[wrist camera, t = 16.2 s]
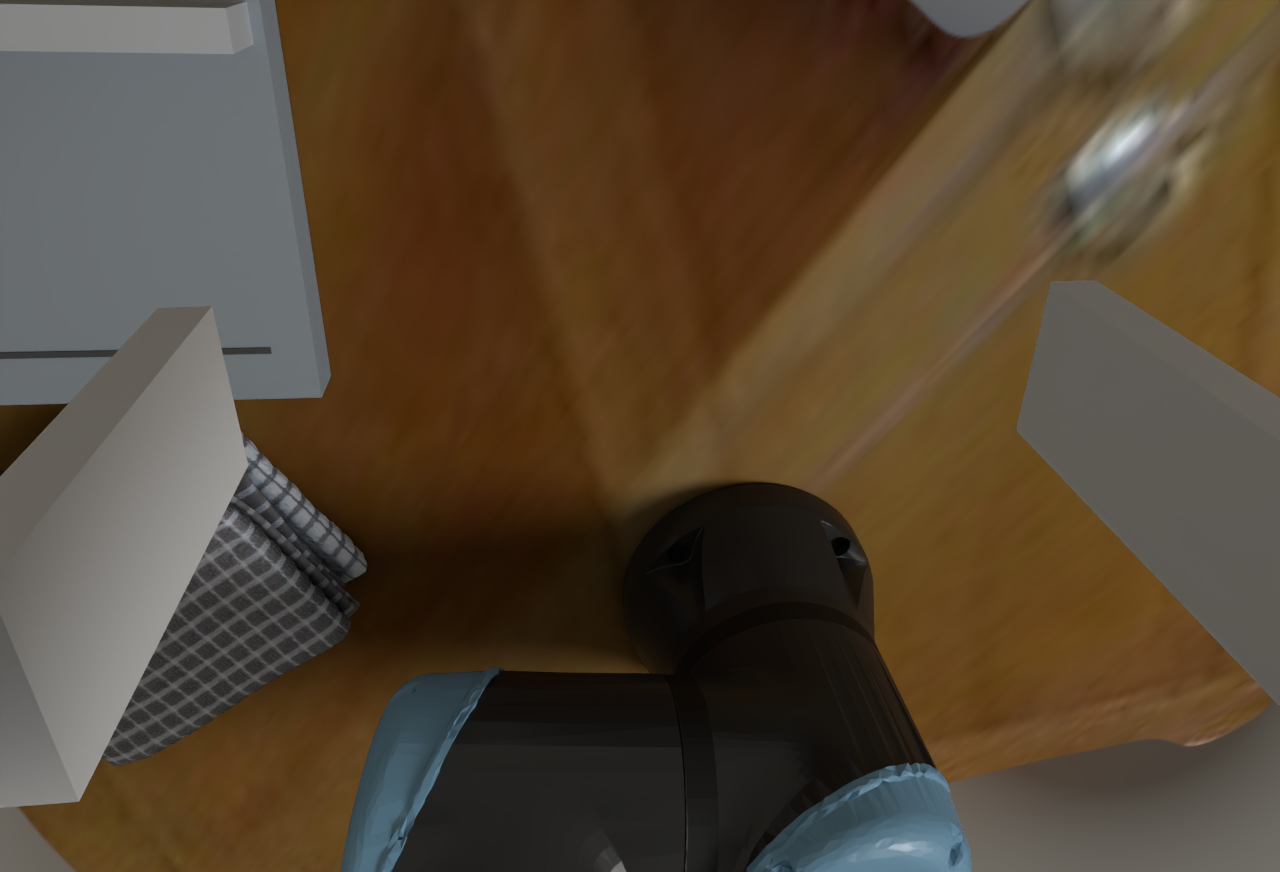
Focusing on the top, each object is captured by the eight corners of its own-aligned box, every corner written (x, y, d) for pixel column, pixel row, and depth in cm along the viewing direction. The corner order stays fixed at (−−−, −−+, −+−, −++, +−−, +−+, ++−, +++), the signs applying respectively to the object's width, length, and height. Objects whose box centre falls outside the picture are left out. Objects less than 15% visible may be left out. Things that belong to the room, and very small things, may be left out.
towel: (-61, 533, 51) (-152, 630, 44) (201, 365, 48) (148, 441, 41) (149, 698, 58) (99, 803, 51) (389, 561, 55) (369, 653, 48)
